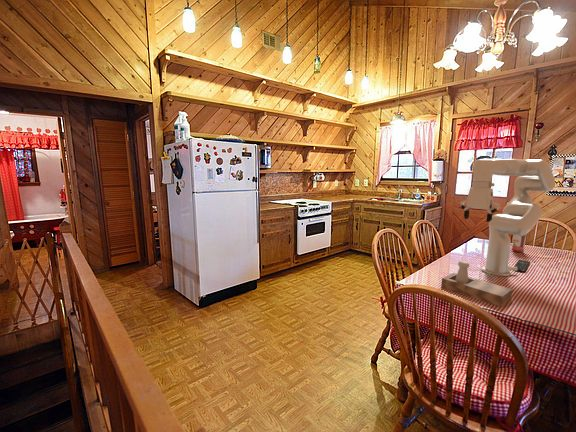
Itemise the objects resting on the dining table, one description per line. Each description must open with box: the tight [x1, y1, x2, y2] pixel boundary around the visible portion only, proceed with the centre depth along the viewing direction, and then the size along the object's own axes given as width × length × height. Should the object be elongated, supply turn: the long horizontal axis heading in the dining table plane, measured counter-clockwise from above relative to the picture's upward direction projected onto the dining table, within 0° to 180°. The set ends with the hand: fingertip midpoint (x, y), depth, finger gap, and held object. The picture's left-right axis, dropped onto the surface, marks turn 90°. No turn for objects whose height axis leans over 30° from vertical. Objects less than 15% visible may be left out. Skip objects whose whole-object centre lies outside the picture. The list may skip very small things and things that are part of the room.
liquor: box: [511, 234, 527, 254], centre depth 192 cm, size 7×7×28 cm
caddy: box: [440, 272, 514, 308], centre depth 130 cm, size 24×12×4 cm, turn 37°
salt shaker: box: [455, 260, 470, 284], centre depth 134 cm, size 6×6×13 cm
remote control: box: [512, 259, 531, 274], centre depth 166 cm, size 5×24×1 cm, turn 135°
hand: (477, 220), depth 142 cm, fingers open, 9 cm apart
